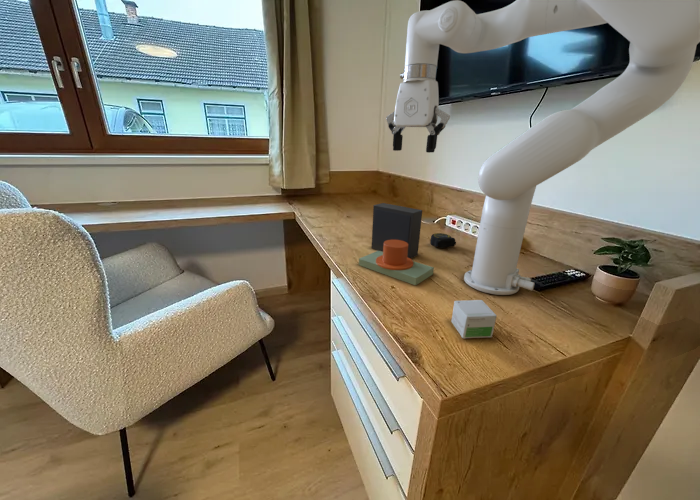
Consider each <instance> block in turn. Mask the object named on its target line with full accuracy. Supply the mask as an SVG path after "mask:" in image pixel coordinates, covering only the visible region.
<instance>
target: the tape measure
mask: <svg viewBox="0 0 700 500" xmlns="http://www.w3.org/2000/svg"><path fill="white" fill-rule="evenodd" d="M429 242H430V245H431V246H432V247H435V248H437V249H445V248H452V247H455V246H456V244H457V241H456V239H455V237H453V236H451V235H449V234H448V233H442V232H437V233H432V234H431V235H430V241H429Z"/></svg>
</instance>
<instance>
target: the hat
mask: <svg viewBox="0 0 700 500" xmlns="http://www.w3.org/2000/svg"><path fill="white" fill-rule="evenodd" d="M407 253H408V243H407V242H405V241H401V240H387V241H385V242H384V246H383V255H382V256H379V257H377V259H376V264H377V265H378V266H380V267H382V268H385V269H390V270H406V269H409V268H411V267H412V266H413V261H414V260H412V258H411V259H410V258H408V257H407Z"/></svg>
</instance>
